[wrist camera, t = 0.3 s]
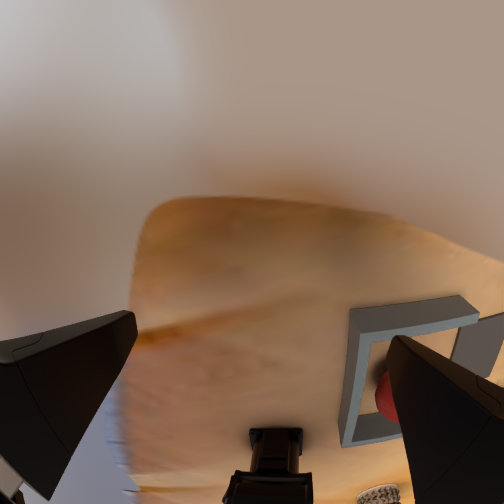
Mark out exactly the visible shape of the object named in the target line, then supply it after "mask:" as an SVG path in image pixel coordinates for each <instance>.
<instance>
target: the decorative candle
mask: <svg viewBox="0 0 504 504" xmlns="http://www.w3.org/2000/svg"><path fill="white" fill-rule="evenodd" d="M397 487H398V486H397V485H396V484H393V483H390V484H383V485H379V486H375V487H372V488H370V489H367V490H365V491H363V492H361V493H360V494H359V495H357V500H358V501H357V502H358V503H357V504H401V503H400V502H398V501H399V500H400V498H401V497H400V496H399V495H398V494H399V490H398V489H397Z"/></svg>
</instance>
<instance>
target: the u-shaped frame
mask: <svg viewBox="0 0 504 504" xmlns="http://www.w3.org/2000/svg"><path fill="white" fill-rule="evenodd" d="M479 315H480V312H479V311H478V310H476V309H475V308H474V307H473V306H472V305H471V304H470V303H468V302H467V301H466V300H465V299H464V298H463V297H461V296H460V295H456V296H450V297H444V298H438V299H432V300H425V301H418V302H411V303H404V304H396V305H388V306H379V307H370V308H361V309H350V324H349V338H348V349H347V360H346V369H345V378H344V386H343V394H342V401H341V407H340V414H339V420H338V427H339V435H340V443H341V448H347V447H354V446H361V445H367V444H373V443H378V442H383V441H388V440H392V439H397V438H401V437H403V436H402V432H401V428H400V424H399V423H397V422H392V421H390V420H389V419H387V418H386V417H384V416H383V415H382V414H381V413H380V412H379V413H373V414H367V415H360V416H358V413H359V409H360V404H361V400H362V395H363V390H364V385H365V379H366V374H367V368H368V361H369V355H370V348H371V343H374V342H381V341H388V340H392V338H393V336H395V335H406V336H408V337H413V336H418V335H424V334H429V333H434V332H439V331H444V330H448V329H453V328H457V327H462V326H466V325H470V324H474V323H477V322H478V319H479Z"/></svg>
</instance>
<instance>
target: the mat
mask: <svg viewBox="0 0 504 504" xmlns="http://www.w3.org/2000/svg"><path fill="white" fill-rule="evenodd" d="M503 340H504V312H503V313H500V314H496V315H493V316H489V317H485V318H482V319H478V322H477V323H474V324H470V325H466V326H462V327H459V330H458V333H457V337H456V341H455V344H454V348H453V351H452V354H451V357H450V360H451V361H453V362H455V363H457V364H459V365H461V366H462V367H464V368H466V369H468V370H470V371H471V372H473V373H475V375H476V374H477V375H479V376H481V377H483V378H487V377H489V376H490V373H491V371H492V369H493V366H494V364H495V361H496V359H497V356H498V354H499V351H500V348H501V346H502V343H503Z"/></svg>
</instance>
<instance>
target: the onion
mask: <svg viewBox="0 0 504 504" xmlns="http://www.w3.org/2000/svg"><path fill="white" fill-rule="evenodd" d="M375 401H376V405H377V408H378V410H379V412H380V413H381V414H382V415H383V416H384V417H386V418H387V419H389V420H390V421H392V422H397V423H399V420H398V416H397V412H396V408H395V405H394V401H393V397H392V392H391V386H390V380H389V374H388V371H387V372H386V373H385V374H384V375H383V376H382V378H381V379H380V380H379V381H378V385H377V389H376V392H375Z"/></svg>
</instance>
